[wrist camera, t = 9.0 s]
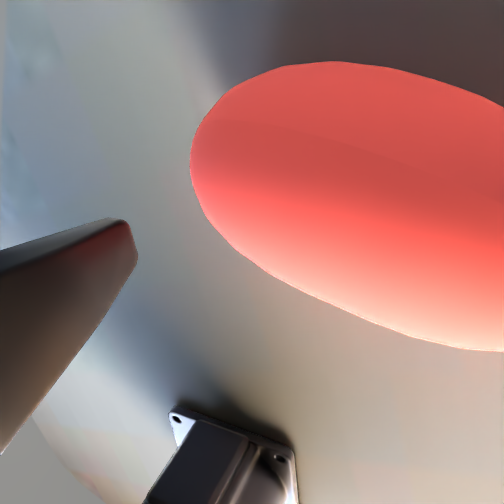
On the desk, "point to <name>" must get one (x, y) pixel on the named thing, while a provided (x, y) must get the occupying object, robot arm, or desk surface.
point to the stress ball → (365, 194)
